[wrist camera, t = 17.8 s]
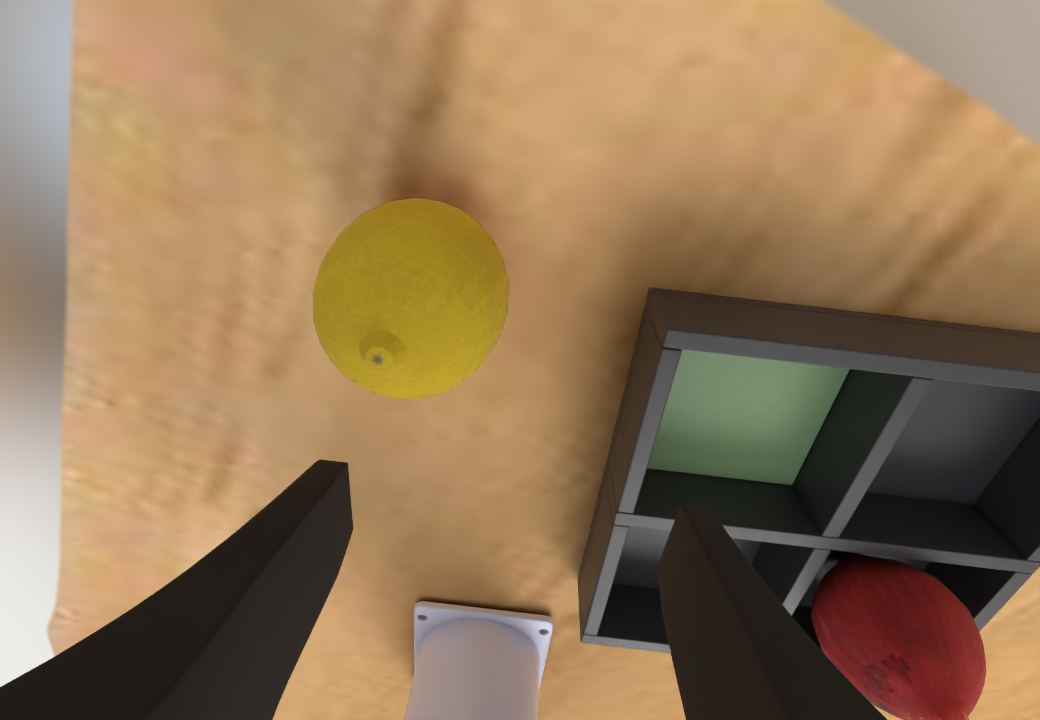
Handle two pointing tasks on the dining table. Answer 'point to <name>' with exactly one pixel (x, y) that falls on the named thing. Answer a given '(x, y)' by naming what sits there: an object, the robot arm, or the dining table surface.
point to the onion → (900, 638)
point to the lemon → (410, 298)
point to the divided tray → (816, 454)
